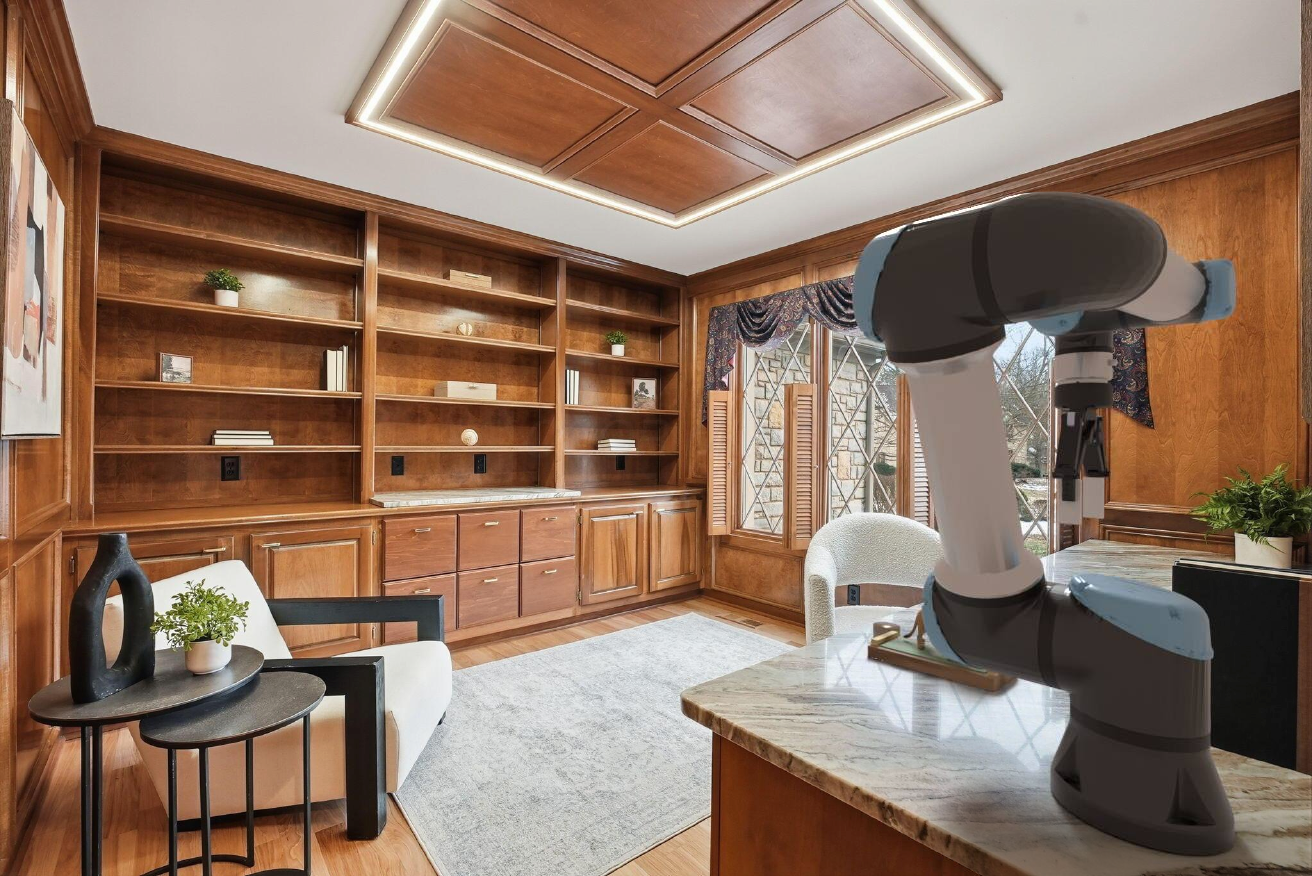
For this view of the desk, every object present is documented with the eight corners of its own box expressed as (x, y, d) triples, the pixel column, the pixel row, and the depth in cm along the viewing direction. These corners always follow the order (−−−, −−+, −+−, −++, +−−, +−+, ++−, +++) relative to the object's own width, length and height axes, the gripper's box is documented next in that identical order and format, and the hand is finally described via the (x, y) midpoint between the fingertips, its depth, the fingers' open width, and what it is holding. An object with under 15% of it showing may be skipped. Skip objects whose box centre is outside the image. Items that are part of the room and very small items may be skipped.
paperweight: (892, 646, 118) (893, 630, 118) (868, 640, 122) (868, 625, 122) (904, 641, 122) (904, 625, 122) (880, 635, 125) (880, 620, 125)
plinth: (993, 691, 96) (993, 672, 97) (867, 656, 112) (867, 640, 112) (1015, 676, 103) (1015, 658, 103) (893, 645, 119) (894, 629, 119)
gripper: (1091, 373, 85) (1090, 529, 85) (1130, 387, 102) (1129, 517, 102) (1030, 377, 91) (1029, 524, 90) (1076, 390, 108) (1075, 513, 107)
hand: (1082, 521), depth 96 cm, fingers open, 13 cm apart
